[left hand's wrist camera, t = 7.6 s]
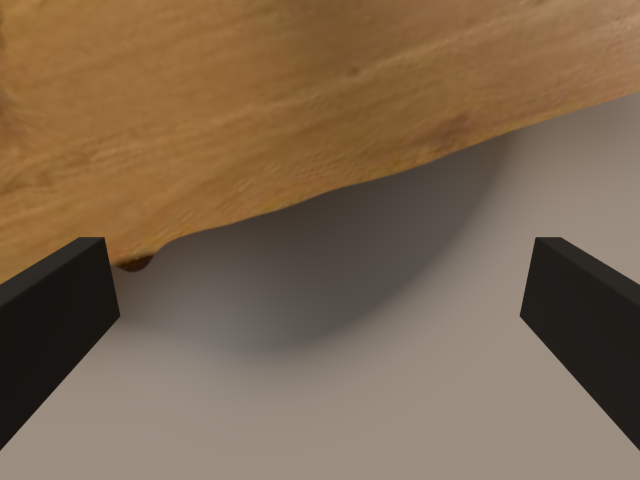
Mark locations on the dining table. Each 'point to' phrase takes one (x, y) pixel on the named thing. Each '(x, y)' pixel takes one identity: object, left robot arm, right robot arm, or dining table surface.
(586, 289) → the left robot arm
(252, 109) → the dining table surface
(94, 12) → the dining table surface
